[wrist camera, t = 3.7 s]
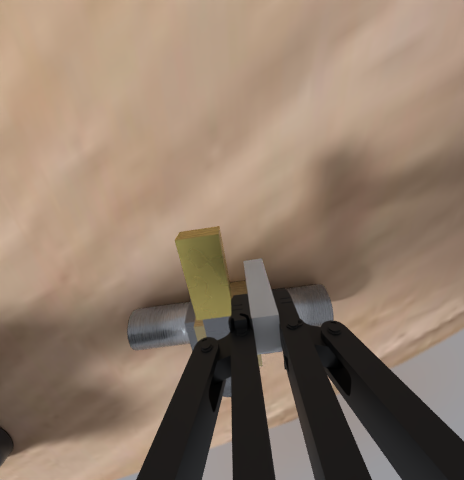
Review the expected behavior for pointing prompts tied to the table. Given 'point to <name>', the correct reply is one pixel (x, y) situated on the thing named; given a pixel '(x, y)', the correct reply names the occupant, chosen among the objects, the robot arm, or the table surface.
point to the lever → (207, 281)
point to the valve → (191, 330)
